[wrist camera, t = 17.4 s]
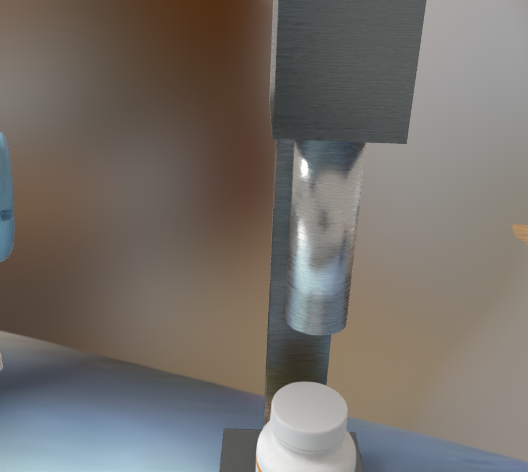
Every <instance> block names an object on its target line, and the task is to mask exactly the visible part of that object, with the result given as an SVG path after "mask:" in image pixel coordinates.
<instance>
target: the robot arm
mask: <svg viewBox="0 0 528 472" xmlns="http://www.w3.org/2000/svg"><path fill="white" fill-rule="evenodd" d="M13 200H14V195H13V183H12V171H11V162H10V155H9V149H8V144H7V140H6V138H5V136H4V134H3V133H1V132H0V262H2V261H3V260H5V259H6V258H7V257H8V256H9V255H10V253H11V251H12V248H13V243H14V213H13V208H14V207H13ZM2 369H3V362H2V357H1V351H0V371H1V370H2Z"/></svg>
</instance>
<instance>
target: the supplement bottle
mask: <svg viewBox="0 0 528 472" xmlns="http://www.w3.org/2000/svg"><path fill="white" fill-rule="evenodd" d="M347 422H348V407H347V404H346V402H345V400H344V398H343V397H342V396H341V395H340V394H339V393H338V392H337V391H335V390H334V389H332V388H330V387H328V386H326V385H323V384H320V383H315V382H295V383H291V384H288V385H286V386H284V387H282V388H281V389H280V390H278V391H277V392H276V394H275V395H274V397H273V400H272V404H271V415H270V421H269V422H268V423H267V424H266V425H265V426H264V428H263V429H262V431H261V433H260V435H259V438H258V442H257V449H256V472H355V467H356V448H355V444H354V442H353V439H352V437H351V435H350V434H349V432H348V431H347Z"/></svg>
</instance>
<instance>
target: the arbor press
mask: <svg viewBox="0 0 528 472" xmlns="http://www.w3.org/2000/svg"><path fill="white" fill-rule="evenodd" d="M425 6H426V0H273V24H272V49H271V75H270V101H269V107H270V116H271V126H272V138H273V139H276V154H275V176H274V199H273V222H272V244H271V269H270V290H269V312H268V334H267V358H266V381H265V402H264V424H263V428H264V426H265V425H266V424H267V423H268V422H269V421H270V415H271V404H272V400H273V397H274V395H275V394H276V392H277V391H278V390H280V389H281V388H282V387H284V386H286V385H288V384H291V383H295V382H315V383H320V384H323V385H326V382H327V371H328V361H329V350H330V340H331V334H335V333H338V332H340V331H341V330H343V329H344V328H345V326H346V324H347V315H348V306H349V297H350V288H351V278H352V270H353V260H354V251H355V242H356V233H357V224H358V214H359V205H360V196H361V187H362V178H363V169H364V159H365V150H366V142H370V143H398V144H406V143H407V137H408V129H409V122H410V115H411V108H412V107H411V106H412V100H413V93H414V85H415V78H416V71H417V63H418V56H419V50H420V42H421V35H422V28H423V20H424V13H425ZM261 431H262V430H250V429H224V434H223V444H222V453H221V463H220V472H256V449H257V442H258V438H259V435H260V433H261ZM349 434H350V435H351V437H352V439H353V442H354V444H355V448H356V467H355V472H364V468H363V464H362V460H361V456H360V452H359V447H358V443H357V439H356V435H355V432H349Z"/></svg>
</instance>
